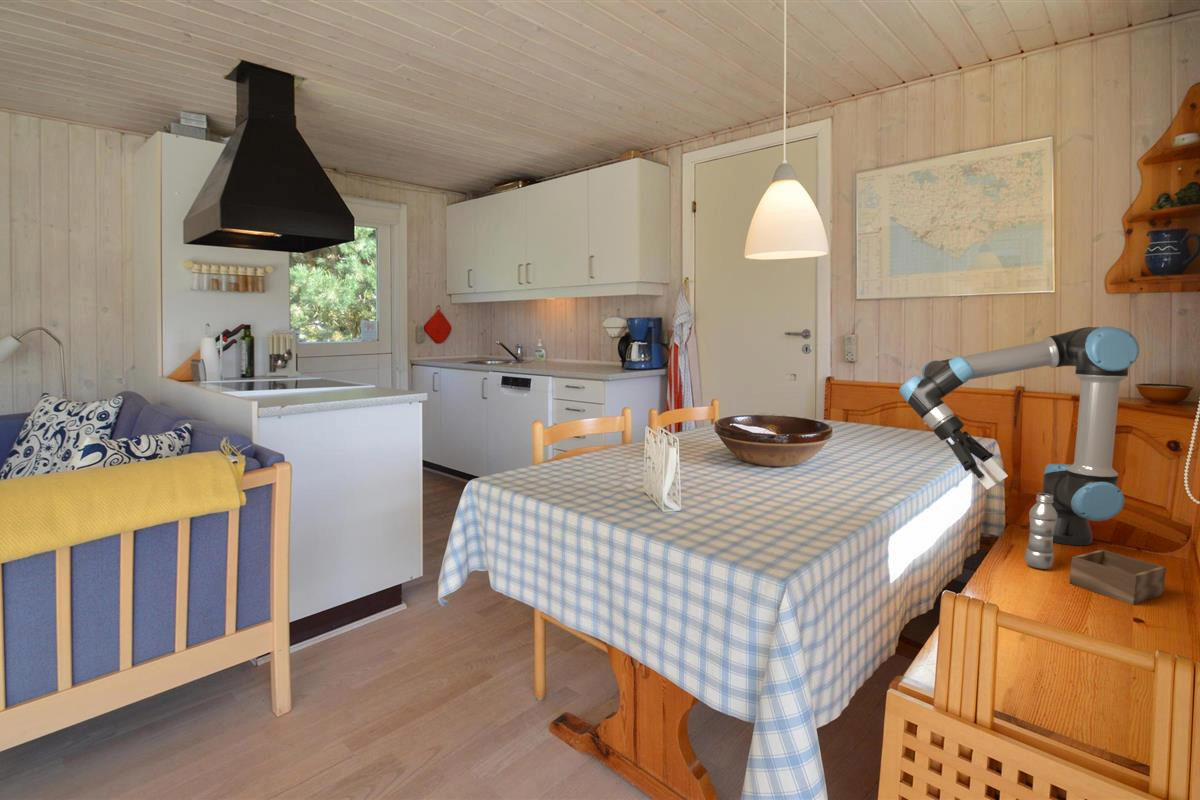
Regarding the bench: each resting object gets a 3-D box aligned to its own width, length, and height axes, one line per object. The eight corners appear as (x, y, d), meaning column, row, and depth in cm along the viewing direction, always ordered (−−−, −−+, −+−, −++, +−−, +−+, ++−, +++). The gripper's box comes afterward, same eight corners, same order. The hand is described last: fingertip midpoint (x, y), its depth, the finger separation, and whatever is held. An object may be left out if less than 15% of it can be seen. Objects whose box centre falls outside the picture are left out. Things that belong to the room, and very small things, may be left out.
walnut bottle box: (1099, 575, 167) (1102, 549, 167) (1162, 595, 155) (1166, 567, 155) (1069, 583, 162) (1072, 557, 161) (1133, 605, 149) (1136, 576, 149)
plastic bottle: (1021, 567, 172) (1028, 495, 170) (1026, 560, 177) (1033, 490, 175) (1050, 573, 168) (1057, 499, 166) (1054, 567, 173) (1061, 494, 171)
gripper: (946, 426, 197) (997, 482, 189) (918, 435, 180) (974, 497, 171) (966, 411, 193) (1020, 468, 185) (941, 418, 175) (998, 482, 167)
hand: (998, 482), depth 178 cm, fingers open, 13 cm apart
